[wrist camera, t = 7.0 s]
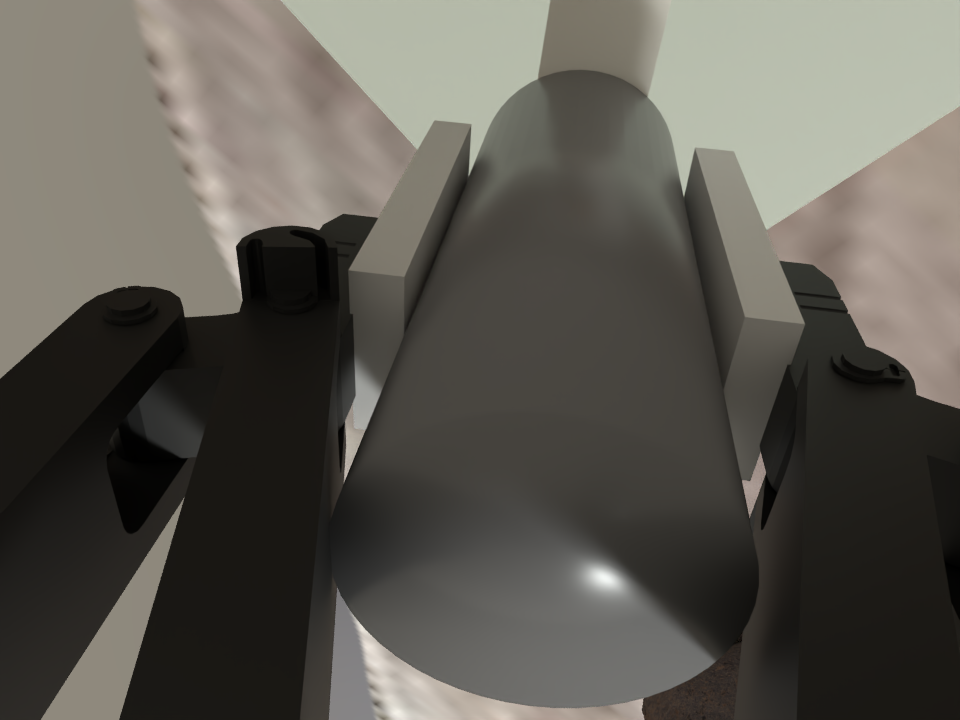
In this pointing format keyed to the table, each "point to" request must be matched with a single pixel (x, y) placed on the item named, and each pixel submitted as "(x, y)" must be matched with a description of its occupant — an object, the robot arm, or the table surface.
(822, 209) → the table surface
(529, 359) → the cap
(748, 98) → the coupling base
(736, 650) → the perforated stone tool
